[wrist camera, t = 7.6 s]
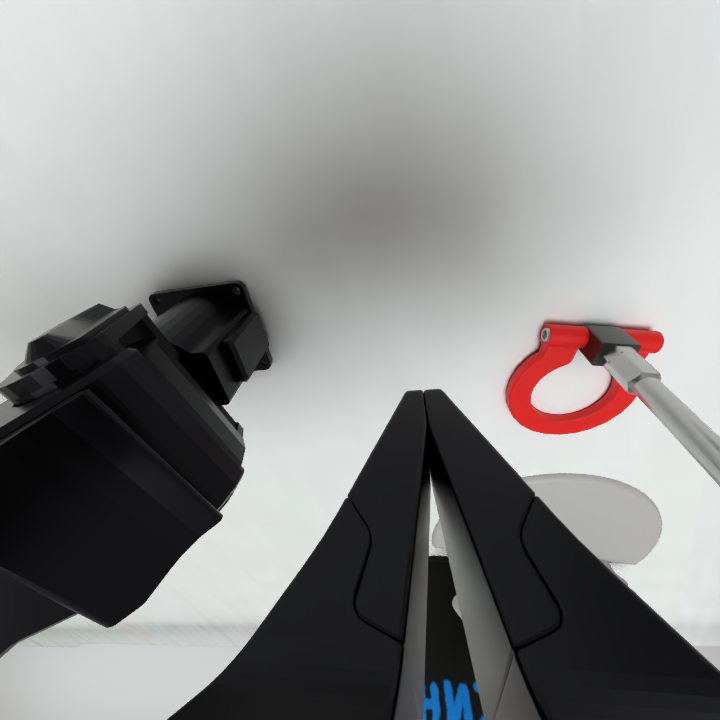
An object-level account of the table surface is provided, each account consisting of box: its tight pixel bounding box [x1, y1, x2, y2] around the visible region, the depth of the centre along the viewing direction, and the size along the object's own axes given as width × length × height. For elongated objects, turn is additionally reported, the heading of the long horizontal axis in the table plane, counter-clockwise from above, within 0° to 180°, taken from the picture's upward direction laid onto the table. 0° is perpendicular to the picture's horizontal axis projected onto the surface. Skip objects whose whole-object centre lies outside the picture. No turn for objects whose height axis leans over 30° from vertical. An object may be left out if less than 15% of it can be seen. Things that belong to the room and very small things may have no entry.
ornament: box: [432, 473, 662, 619], centre depth 25 cm, size 22×13×17 cm, turn 89°
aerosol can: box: [423, 557, 485, 720], centre depth 31 cm, size 8×8×20 cm
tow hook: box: [506, 324, 720, 486], centre depth 18 cm, size 8×13×9 cm
